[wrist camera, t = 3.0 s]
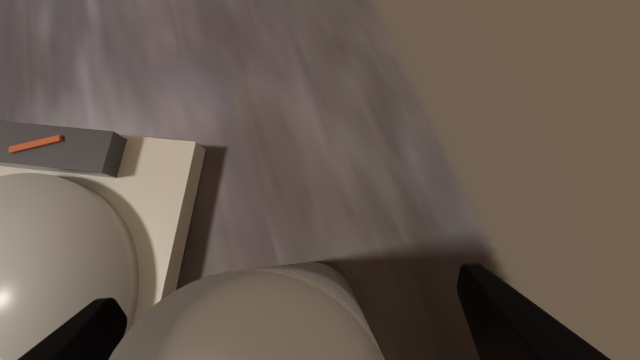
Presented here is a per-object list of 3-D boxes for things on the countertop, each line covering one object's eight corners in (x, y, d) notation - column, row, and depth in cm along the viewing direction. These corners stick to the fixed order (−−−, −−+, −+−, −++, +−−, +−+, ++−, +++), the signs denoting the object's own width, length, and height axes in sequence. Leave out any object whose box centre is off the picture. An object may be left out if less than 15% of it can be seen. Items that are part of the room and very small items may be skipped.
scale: (126, 520, 13) (81, 577, 11) (-153, 466, 14) (-249, 506, 12) (205, 149, 17) (184, 132, 14) (-19, 128, 18) (-72, 109, 15)
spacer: (351, 361, 14) (398, 706, 3) (262, 348, 14) (32, 623, 3) (359, 267, 15) (415, 289, 4) (275, 257, 15) (126, 254, 4)
